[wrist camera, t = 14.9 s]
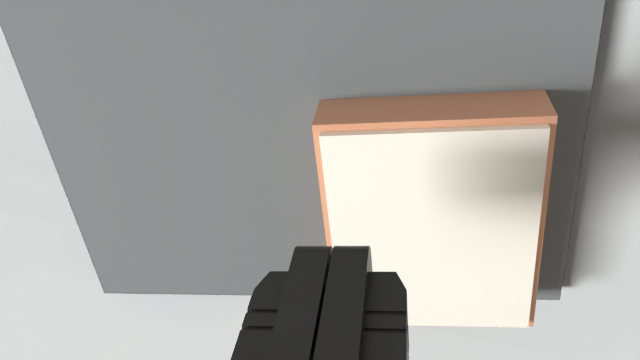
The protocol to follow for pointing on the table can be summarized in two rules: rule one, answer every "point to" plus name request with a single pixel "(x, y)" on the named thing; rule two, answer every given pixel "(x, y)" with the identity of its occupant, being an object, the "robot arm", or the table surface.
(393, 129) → the tile
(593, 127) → the table surface
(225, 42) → the mat
